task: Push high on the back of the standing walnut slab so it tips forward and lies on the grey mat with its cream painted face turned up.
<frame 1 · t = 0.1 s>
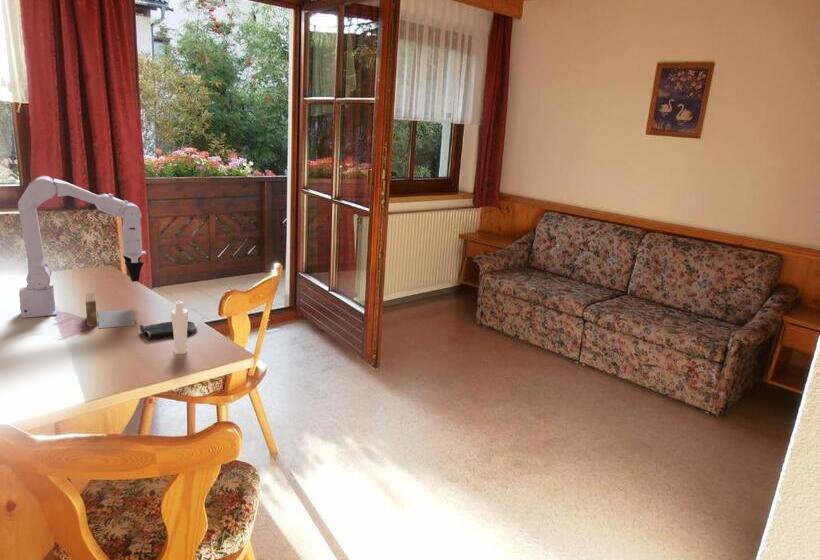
hand: (134, 278, 196), 10 cm above the table, tool pointing down, fingers open, 7 cm apart
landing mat: (115, 318, 186), on the table
walnut slab: (92, 321, 182), on the table
electronic device: (170, 334, 178), on the table
perfume bottle: (181, 352, 165), on the table
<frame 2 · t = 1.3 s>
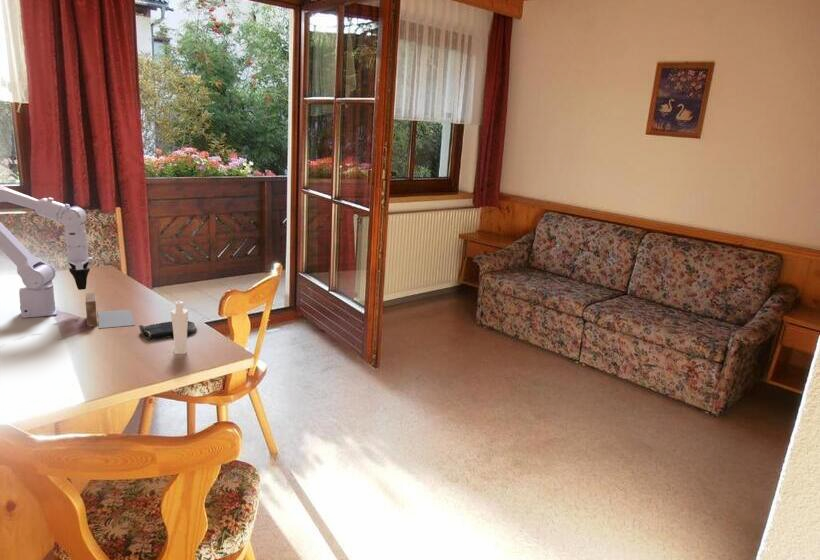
hand: (81, 286, 186), 9 cm above the table, tool pointing down, fingers open, 7 cm apart
nothing on the table moved.
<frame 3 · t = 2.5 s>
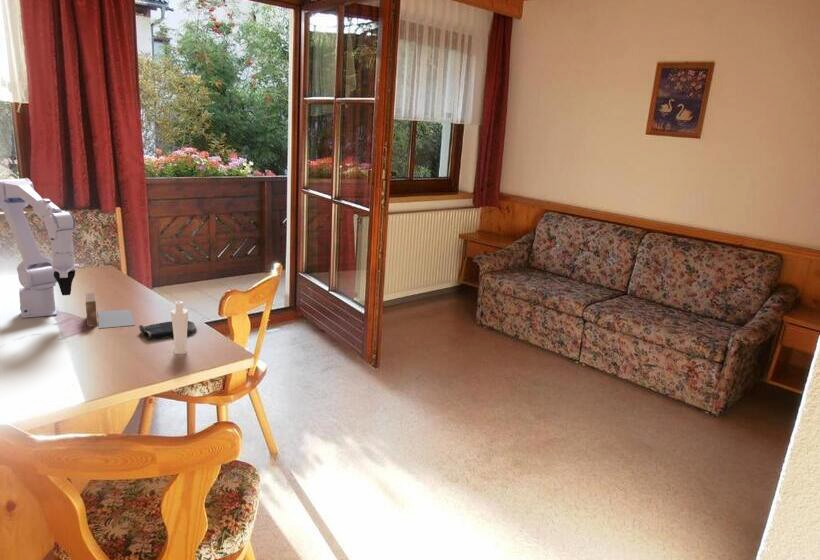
hand: (66, 294, 177), 9 cm above the table, tool pointing down, fingers closed
nothing on the table moved.
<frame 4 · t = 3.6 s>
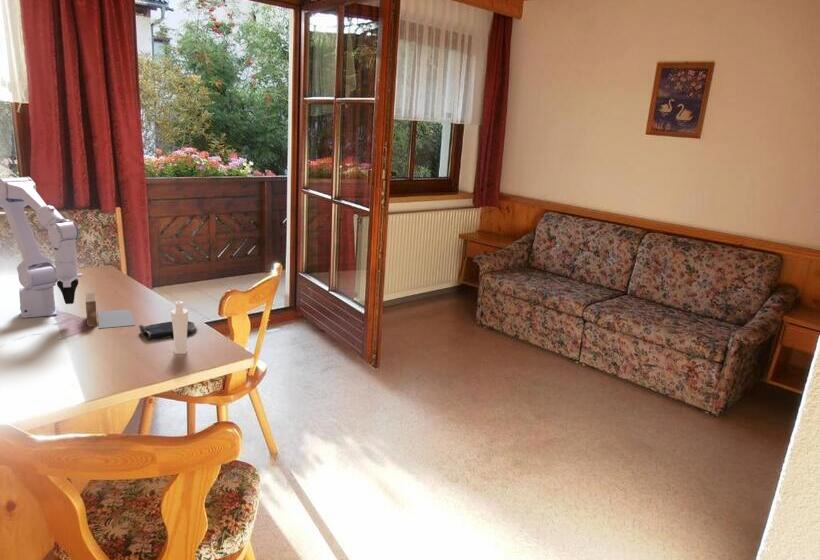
hand: (69, 303, 178), 6 cm above the table, tool pointing down, fingers closed
nothing on the table moved.
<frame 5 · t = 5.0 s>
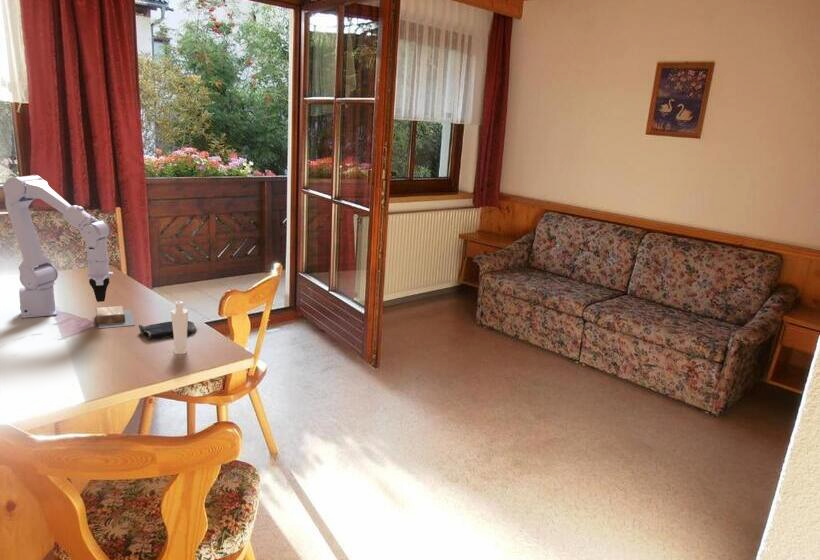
hand: (100, 301, 182), 6 cm above the table, tool pointing down, fingers closed
walnut slab: (96, 316, 183), point 1 cm above the table, tilted 90°, touching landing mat
everything else where it was.
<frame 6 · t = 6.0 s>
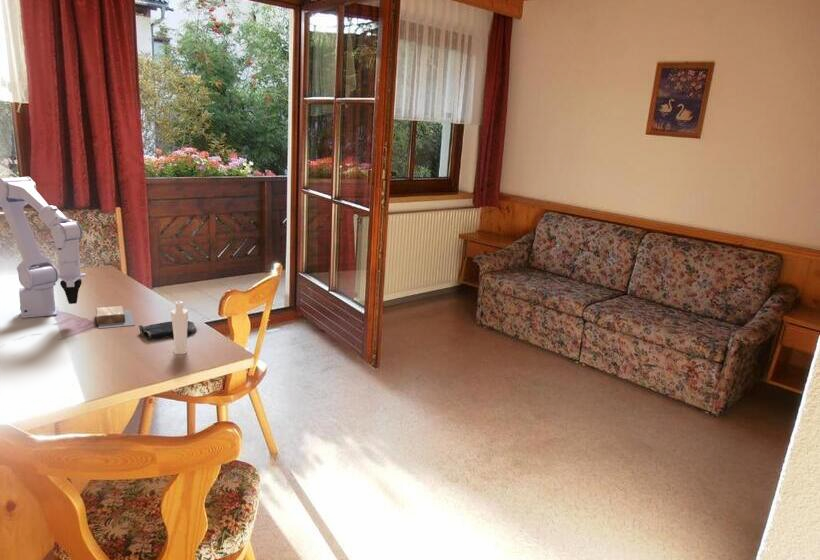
hand: (72, 303, 178), 6 cm above the table, tool pointing down, fingers closed
nothing on the table moved.
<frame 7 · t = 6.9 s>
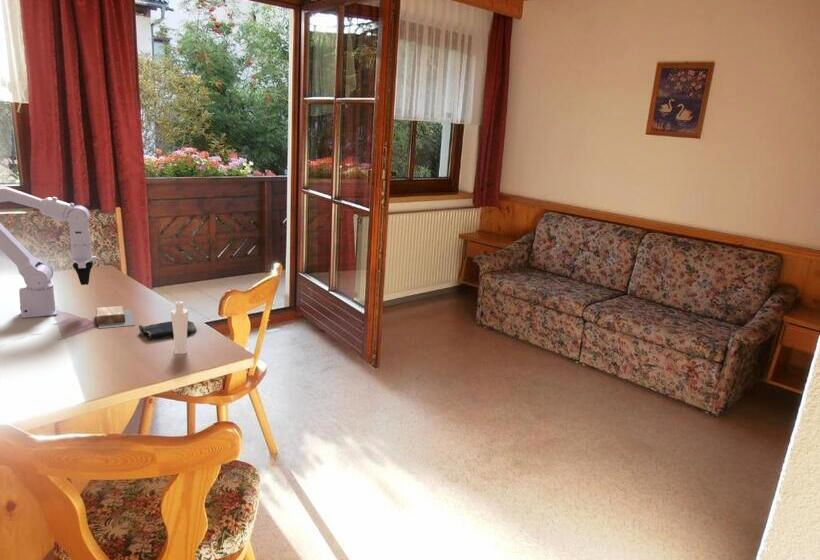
hand: (84, 284, 188), 9 cm above the table, tool pointing down, fingers closed
nothing on the table moved.
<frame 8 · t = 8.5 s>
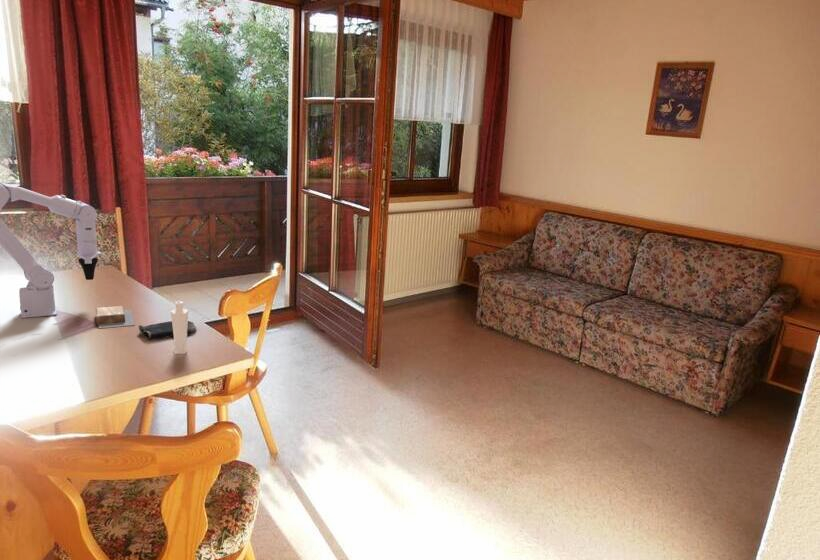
hand: (89, 279, 193), 9 cm above the table, tool pointing down, fingers closed
nothing on the table moved.
at the end: walnut slab tilted 90°; walnut slab inside the target area on the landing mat (0.8 cm from its centre), point 1.4 cm above the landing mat's base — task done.
